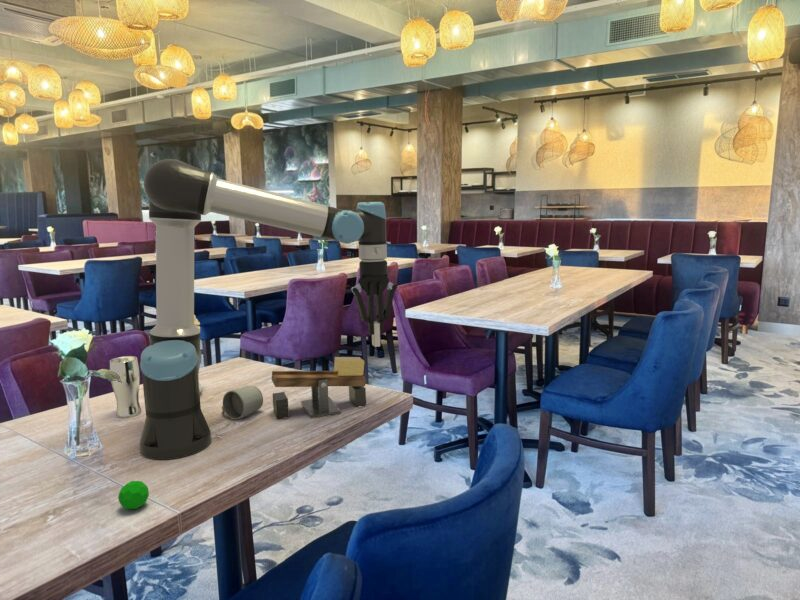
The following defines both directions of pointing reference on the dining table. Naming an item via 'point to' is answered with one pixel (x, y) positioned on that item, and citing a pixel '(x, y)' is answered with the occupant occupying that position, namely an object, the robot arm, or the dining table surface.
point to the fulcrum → (318, 401)
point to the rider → (348, 367)
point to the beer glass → (126, 386)
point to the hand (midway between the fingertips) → (376, 345)
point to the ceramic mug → (242, 402)
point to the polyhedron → (133, 495)
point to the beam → (313, 379)
